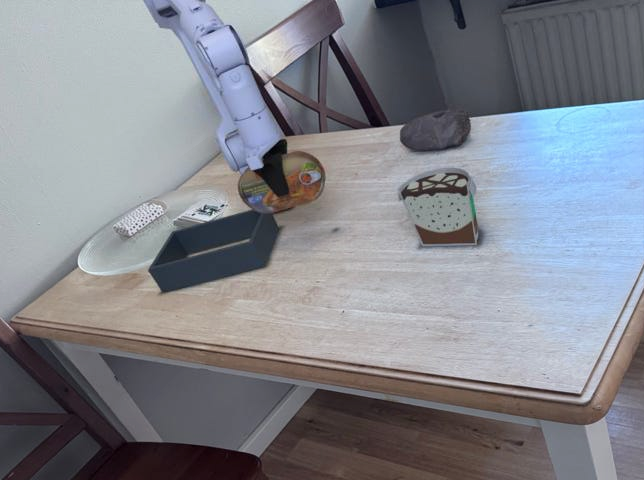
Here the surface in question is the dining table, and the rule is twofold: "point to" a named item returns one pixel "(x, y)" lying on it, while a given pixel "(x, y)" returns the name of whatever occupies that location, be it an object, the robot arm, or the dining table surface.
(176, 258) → the bin
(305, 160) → the tin
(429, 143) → the perforated stone tool
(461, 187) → the food container
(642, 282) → the dining table surface
